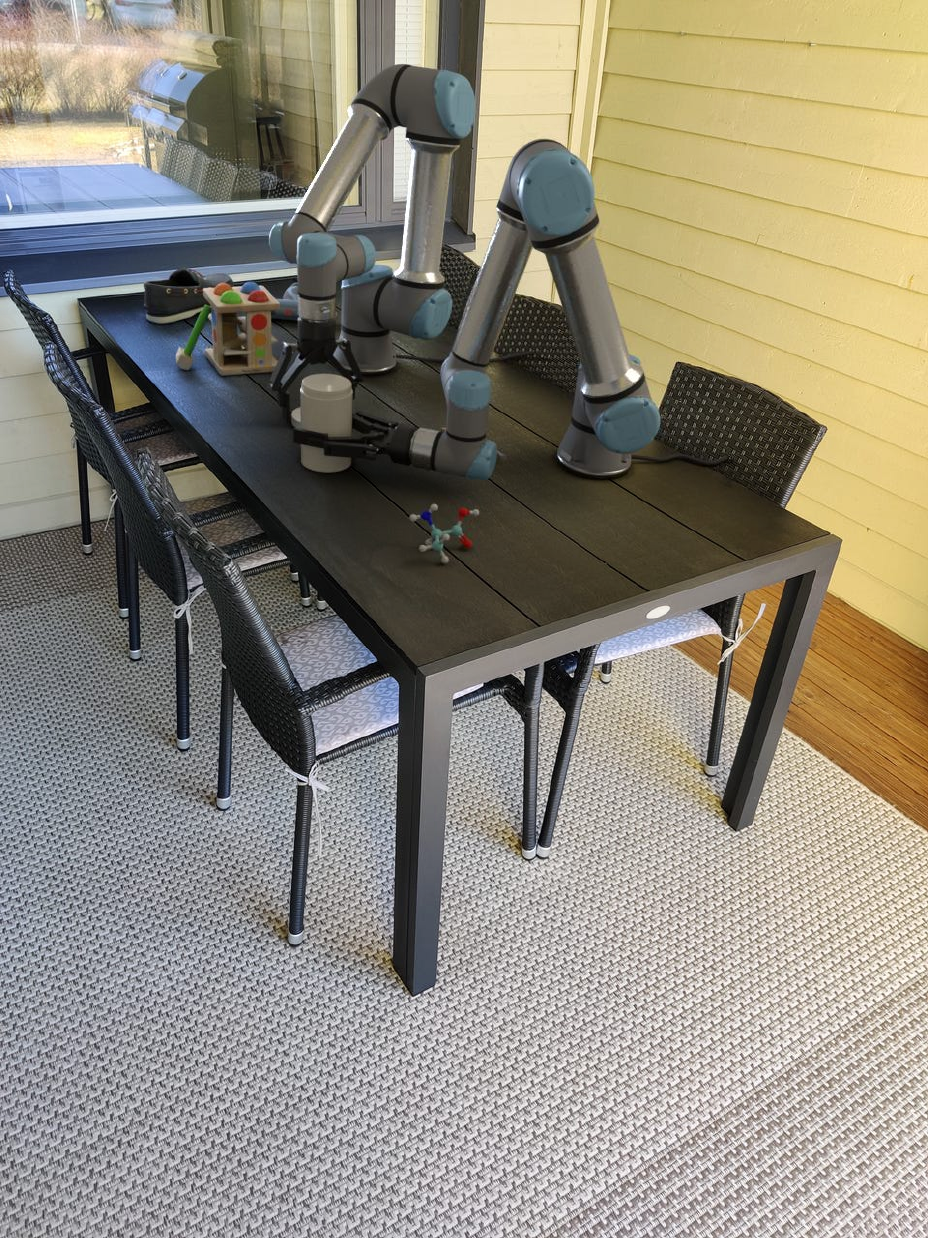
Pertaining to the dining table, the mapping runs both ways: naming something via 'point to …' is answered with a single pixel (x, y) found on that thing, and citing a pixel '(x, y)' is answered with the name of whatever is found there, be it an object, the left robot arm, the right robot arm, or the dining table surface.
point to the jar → (325, 417)
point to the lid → (296, 418)
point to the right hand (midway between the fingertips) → (305, 425)
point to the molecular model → (437, 533)
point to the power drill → (288, 305)
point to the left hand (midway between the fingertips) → (316, 417)
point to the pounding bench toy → (235, 330)
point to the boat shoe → (179, 295)
